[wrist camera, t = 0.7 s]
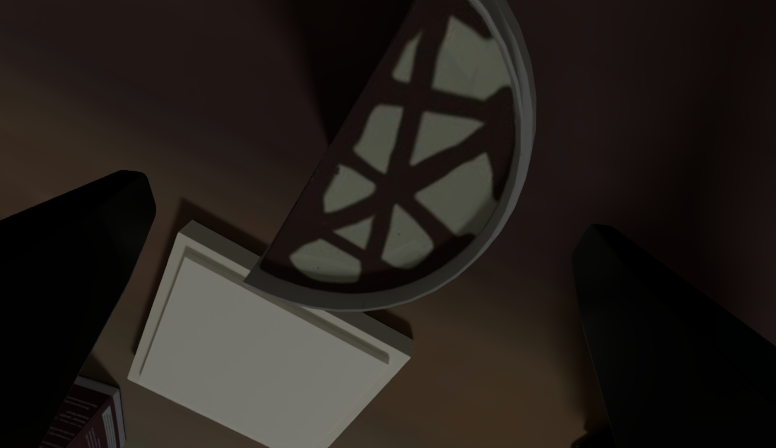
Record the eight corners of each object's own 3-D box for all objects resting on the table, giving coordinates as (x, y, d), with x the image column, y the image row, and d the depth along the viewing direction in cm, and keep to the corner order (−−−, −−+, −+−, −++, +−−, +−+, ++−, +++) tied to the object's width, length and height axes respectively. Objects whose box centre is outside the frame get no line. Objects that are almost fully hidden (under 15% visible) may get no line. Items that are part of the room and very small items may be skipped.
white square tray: (413, 340, 28) (410, 363, 26) (315, 449, 36) (308, 472, 34) (192, 219, 26) (173, 236, 24) (140, 363, 34) (122, 384, 32)
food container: (412, 237, 24) (383, 376, 16) (320, 179, 23) (235, 292, 15) (571, 43, 18) (667, 96, 10) (455, -46, 17) (447, -75, 9)
